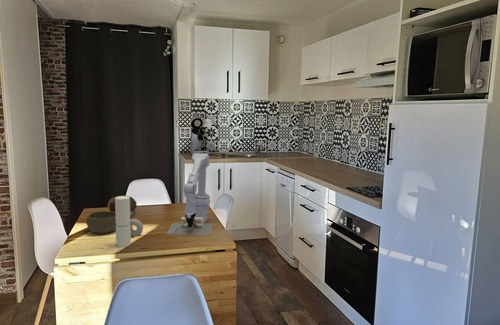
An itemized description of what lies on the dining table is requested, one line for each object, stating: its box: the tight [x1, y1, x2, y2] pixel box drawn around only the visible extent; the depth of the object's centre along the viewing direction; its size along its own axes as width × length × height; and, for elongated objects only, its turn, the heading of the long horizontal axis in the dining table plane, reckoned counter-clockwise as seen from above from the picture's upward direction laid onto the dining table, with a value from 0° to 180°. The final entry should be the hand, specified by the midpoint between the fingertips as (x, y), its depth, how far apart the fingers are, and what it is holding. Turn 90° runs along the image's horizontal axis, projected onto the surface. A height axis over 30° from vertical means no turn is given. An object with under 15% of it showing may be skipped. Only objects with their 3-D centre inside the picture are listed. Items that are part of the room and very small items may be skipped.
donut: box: [130, 218, 144, 237], centre depth 204 cm, size 10×4×10 cm, turn 79°
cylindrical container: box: [115, 195, 132, 248], centre depth 190 cm, size 7×7×25 cm
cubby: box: [165, 216, 214, 236], centre depth 217 cm, size 21×25×6 cm
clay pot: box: [107, 194, 138, 217], centre depth 246 cm, size 15×15×25 cm
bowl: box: [86, 210, 116, 235], centre depth 211 cm, size 17×18×10 cm
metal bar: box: [171, 226, 178, 235], centre depth 213 cm, size 10×2×1 cm, turn 1°
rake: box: [187, 225, 197, 232], centre depth 216 cm, size 10×6×7 cm, turn 1°
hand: (190, 226), depth 212 cm, fingers closed on rake
